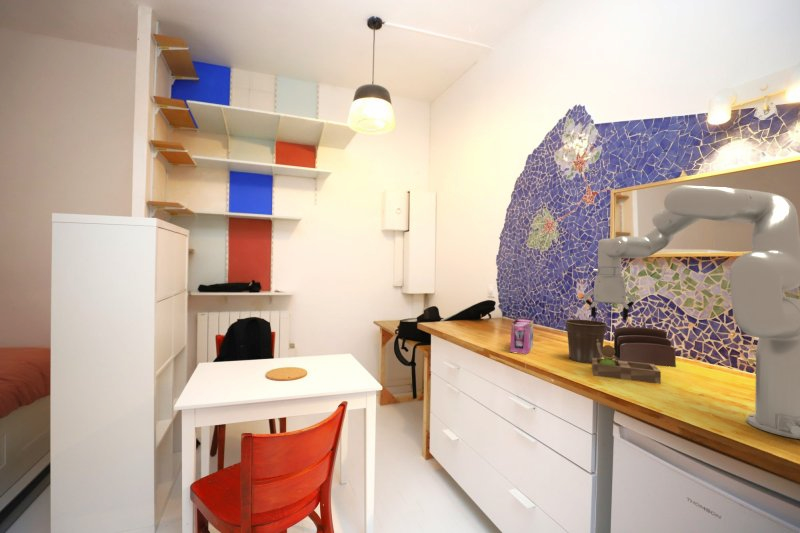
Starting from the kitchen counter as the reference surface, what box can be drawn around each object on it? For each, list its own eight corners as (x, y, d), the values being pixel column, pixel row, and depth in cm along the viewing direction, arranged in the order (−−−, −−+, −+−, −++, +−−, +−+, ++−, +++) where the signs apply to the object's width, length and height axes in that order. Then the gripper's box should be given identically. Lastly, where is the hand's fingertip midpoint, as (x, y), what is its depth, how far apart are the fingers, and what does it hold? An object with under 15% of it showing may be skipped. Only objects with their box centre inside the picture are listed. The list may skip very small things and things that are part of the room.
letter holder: (613, 357, 163) (613, 325, 163) (665, 361, 157) (666, 328, 157) (619, 362, 153) (620, 328, 153) (675, 367, 147) (676, 332, 148)
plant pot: (603, 367, 145) (604, 326, 145) (559, 360, 154) (560, 321, 155) (609, 359, 158) (610, 321, 158) (569, 354, 167) (569, 318, 168)
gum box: (527, 355, 163) (528, 324, 163) (509, 353, 166) (509, 323, 166) (533, 346, 184) (533, 318, 185) (516, 344, 188) (517, 317, 188)
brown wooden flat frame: (660, 383, 124) (660, 371, 124) (593, 375, 133) (593, 364, 133) (653, 374, 135) (653, 363, 135) (591, 367, 143) (592, 357, 143)
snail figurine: (598, 370, 140) (598, 338, 140) (617, 373, 136) (617, 340, 136) (594, 372, 136) (594, 340, 136) (613, 376, 132) (614, 342, 132)
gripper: (583, 271, 137) (583, 318, 136) (638, 272, 129) (638, 321, 129) (583, 272, 143) (582, 316, 143) (635, 272, 136) (635, 319, 136)
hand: (609, 318), depth 136 cm, fingers open, 9 cm apart
